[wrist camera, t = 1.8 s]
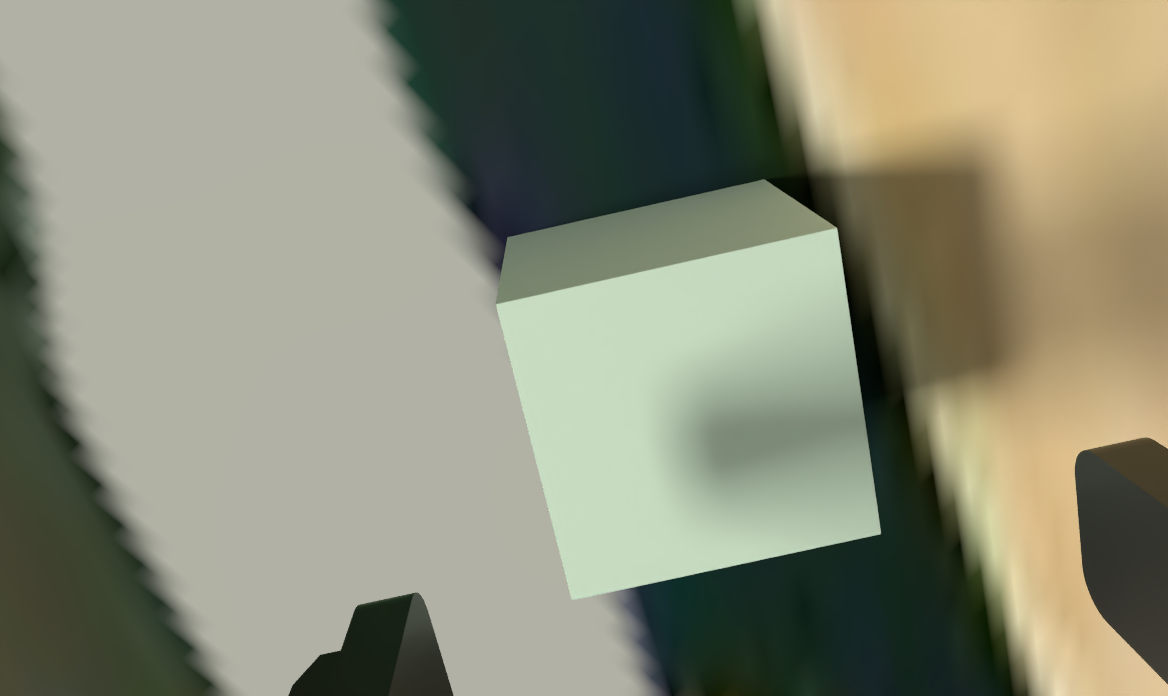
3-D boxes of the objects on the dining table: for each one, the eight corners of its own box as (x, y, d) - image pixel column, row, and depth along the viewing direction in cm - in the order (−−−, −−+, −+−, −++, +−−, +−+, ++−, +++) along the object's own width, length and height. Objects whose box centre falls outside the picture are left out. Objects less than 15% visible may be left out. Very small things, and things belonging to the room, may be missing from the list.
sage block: (507, 236, 21) (495, 304, 16) (763, 178, 21) (837, 228, 16) (565, 469, 23) (571, 600, 17) (803, 417, 23) (880, 534, 17)
